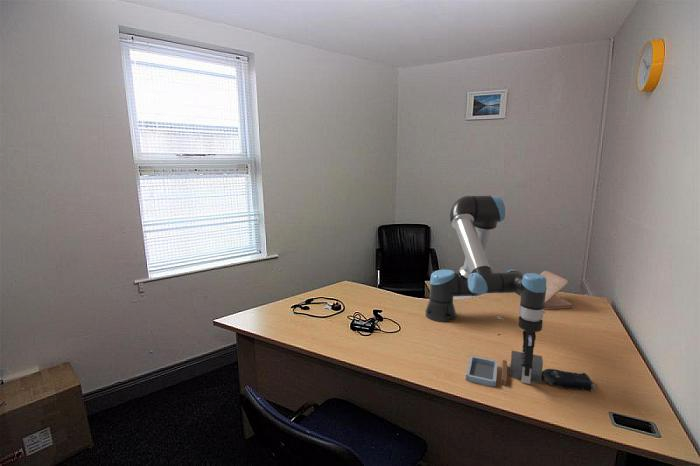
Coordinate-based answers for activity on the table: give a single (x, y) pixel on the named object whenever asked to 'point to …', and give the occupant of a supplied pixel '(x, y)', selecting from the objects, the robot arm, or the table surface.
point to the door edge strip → (504, 372)
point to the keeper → (482, 371)
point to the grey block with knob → (516, 367)
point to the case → (555, 291)
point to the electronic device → (568, 379)
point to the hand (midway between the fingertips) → (525, 376)
